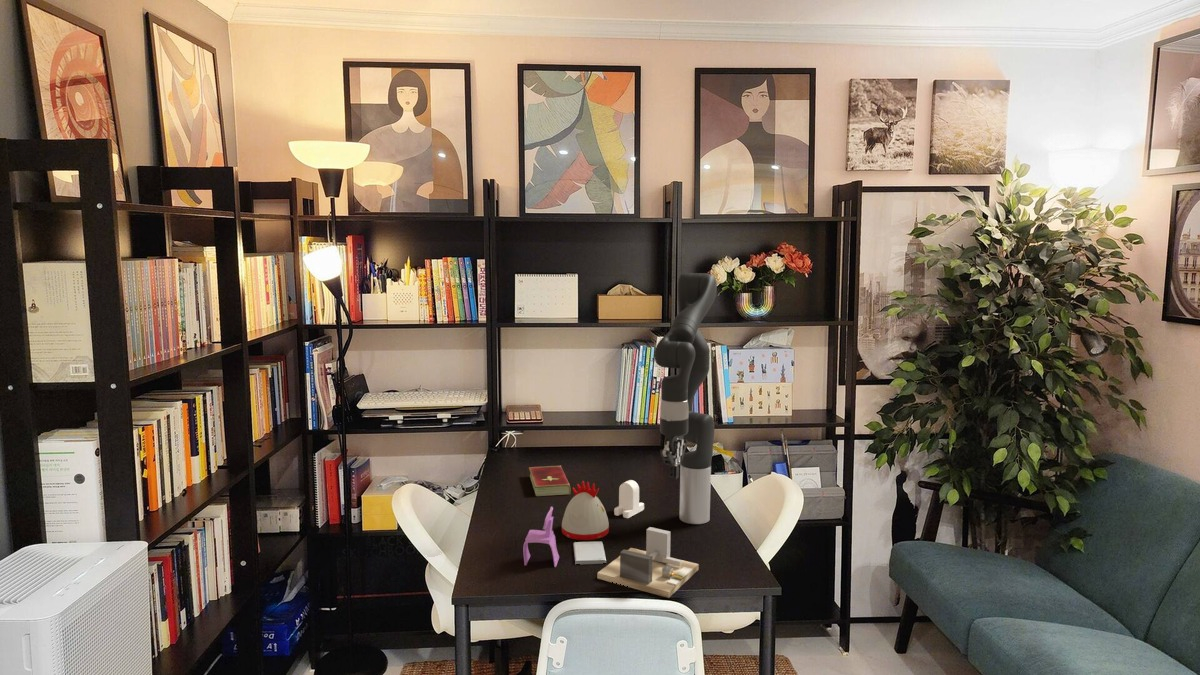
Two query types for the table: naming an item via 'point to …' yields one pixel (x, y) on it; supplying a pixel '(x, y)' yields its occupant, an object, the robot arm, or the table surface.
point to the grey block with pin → (669, 572)
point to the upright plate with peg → (660, 546)
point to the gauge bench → (656, 579)
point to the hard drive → (589, 553)
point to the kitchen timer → (585, 515)
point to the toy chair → (542, 538)
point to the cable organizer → (628, 500)
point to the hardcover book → (549, 481)
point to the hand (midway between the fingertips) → (673, 478)
